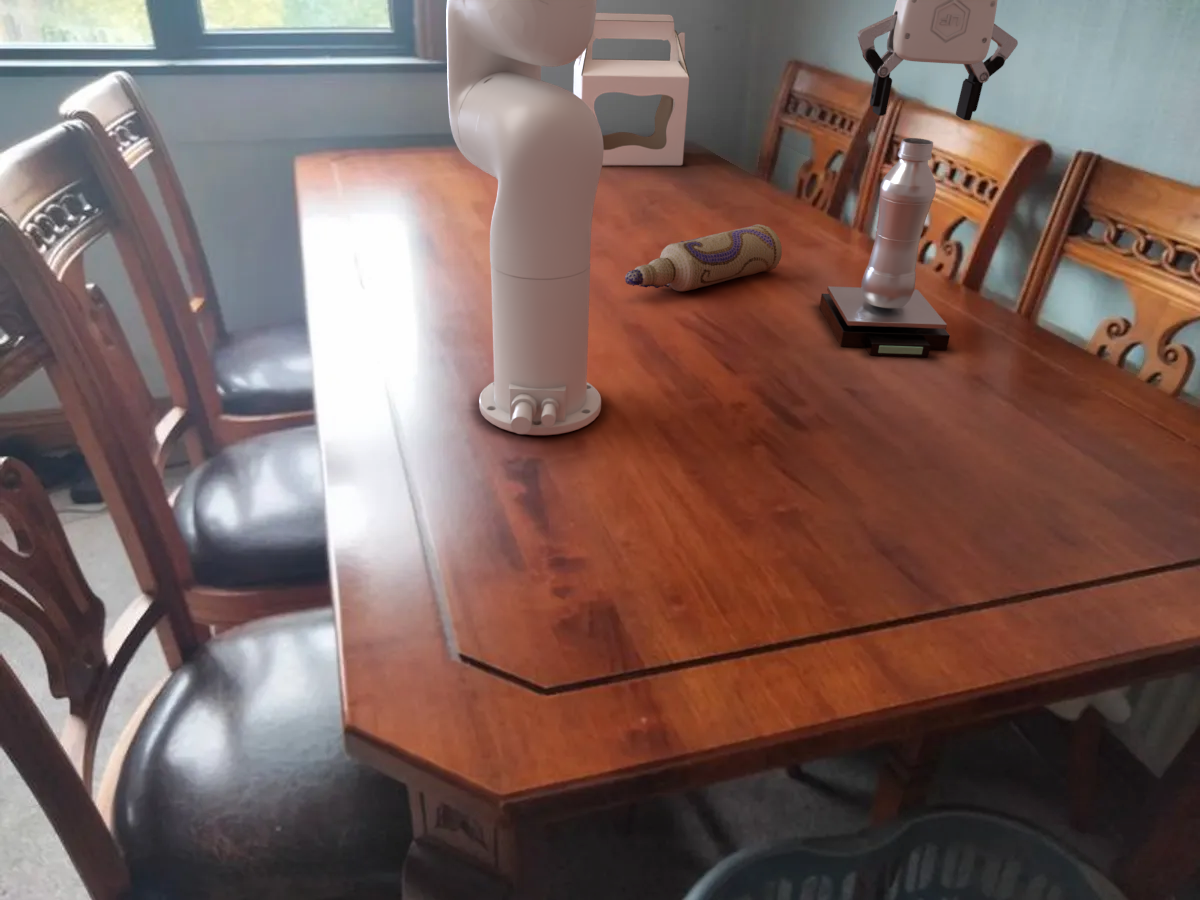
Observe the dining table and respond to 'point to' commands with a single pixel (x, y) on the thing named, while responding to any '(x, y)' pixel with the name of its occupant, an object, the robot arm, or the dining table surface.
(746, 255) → the decorative bottle
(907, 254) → the plastic bottle
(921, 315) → the scale
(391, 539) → the dining table surface
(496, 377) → the robot arm
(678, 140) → the gable box
